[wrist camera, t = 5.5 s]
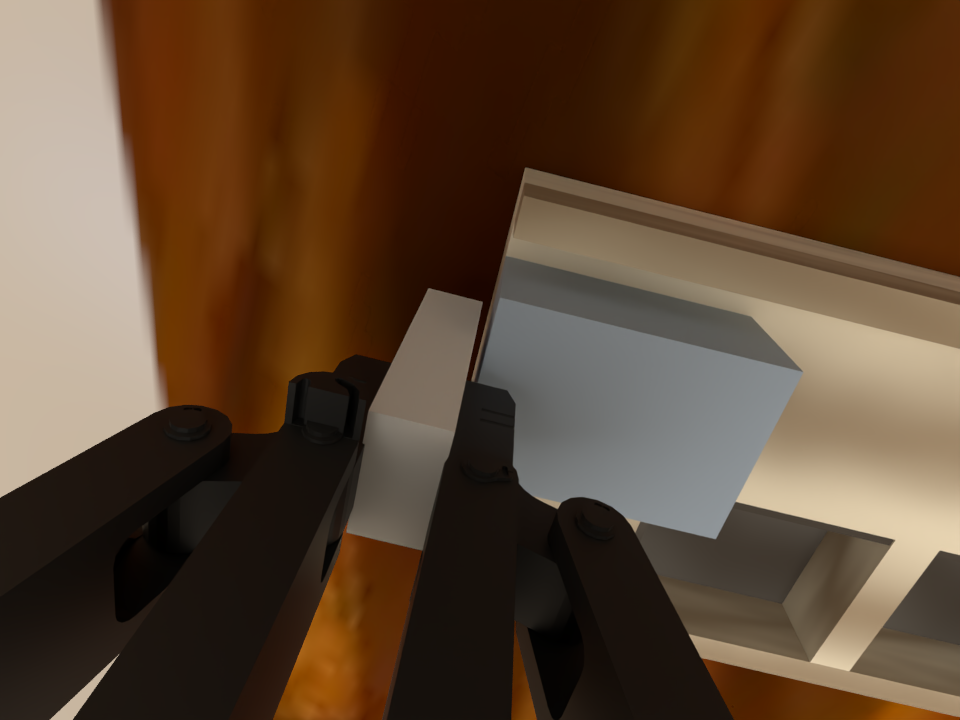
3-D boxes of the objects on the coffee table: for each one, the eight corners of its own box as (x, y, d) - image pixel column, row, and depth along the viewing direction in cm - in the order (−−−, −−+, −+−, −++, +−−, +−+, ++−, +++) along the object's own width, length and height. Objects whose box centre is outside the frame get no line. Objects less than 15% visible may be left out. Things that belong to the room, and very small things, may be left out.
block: (505, 255, 16) (499, 297, 13) (751, 316, 17) (803, 372, 13) (466, 409, 18) (453, 477, 15) (684, 461, 19) (715, 539, 16)
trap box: (525, 167, 18) (524, 195, 14) (1407, 390, 19) (1681, 486, 14) (431, 536, 25) (409, 639, 20) (1094, 690, 25) (1216, 822, 21)
